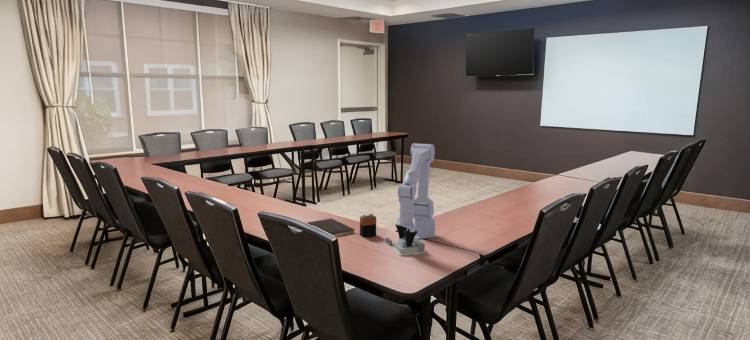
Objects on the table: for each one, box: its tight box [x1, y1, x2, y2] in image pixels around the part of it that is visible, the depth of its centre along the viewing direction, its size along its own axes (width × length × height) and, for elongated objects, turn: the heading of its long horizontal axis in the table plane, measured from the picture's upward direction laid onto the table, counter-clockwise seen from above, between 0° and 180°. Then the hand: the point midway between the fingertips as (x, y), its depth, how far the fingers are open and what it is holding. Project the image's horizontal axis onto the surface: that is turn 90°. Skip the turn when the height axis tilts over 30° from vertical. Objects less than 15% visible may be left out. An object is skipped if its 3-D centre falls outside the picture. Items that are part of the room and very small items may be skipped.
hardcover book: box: [306, 218, 356, 237], centre depth 220 cm, size 16×23×2 cm
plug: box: [398, 237, 407, 248], centre depth 191 cm, size 4×4×6 cm
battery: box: [359, 213, 377, 238], centre depth 211 cm, size 4×7×10 cm, turn 116°
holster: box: [385, 237, 393, 246], centre depth 202 cm, size 8×5×2 cm, turn 108°
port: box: [391, 237, 428, 257], centre depth 192 cm, size 12×10×4 cm
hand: (405, 243), depth 191 cm, fingers open, 7 cm apart
